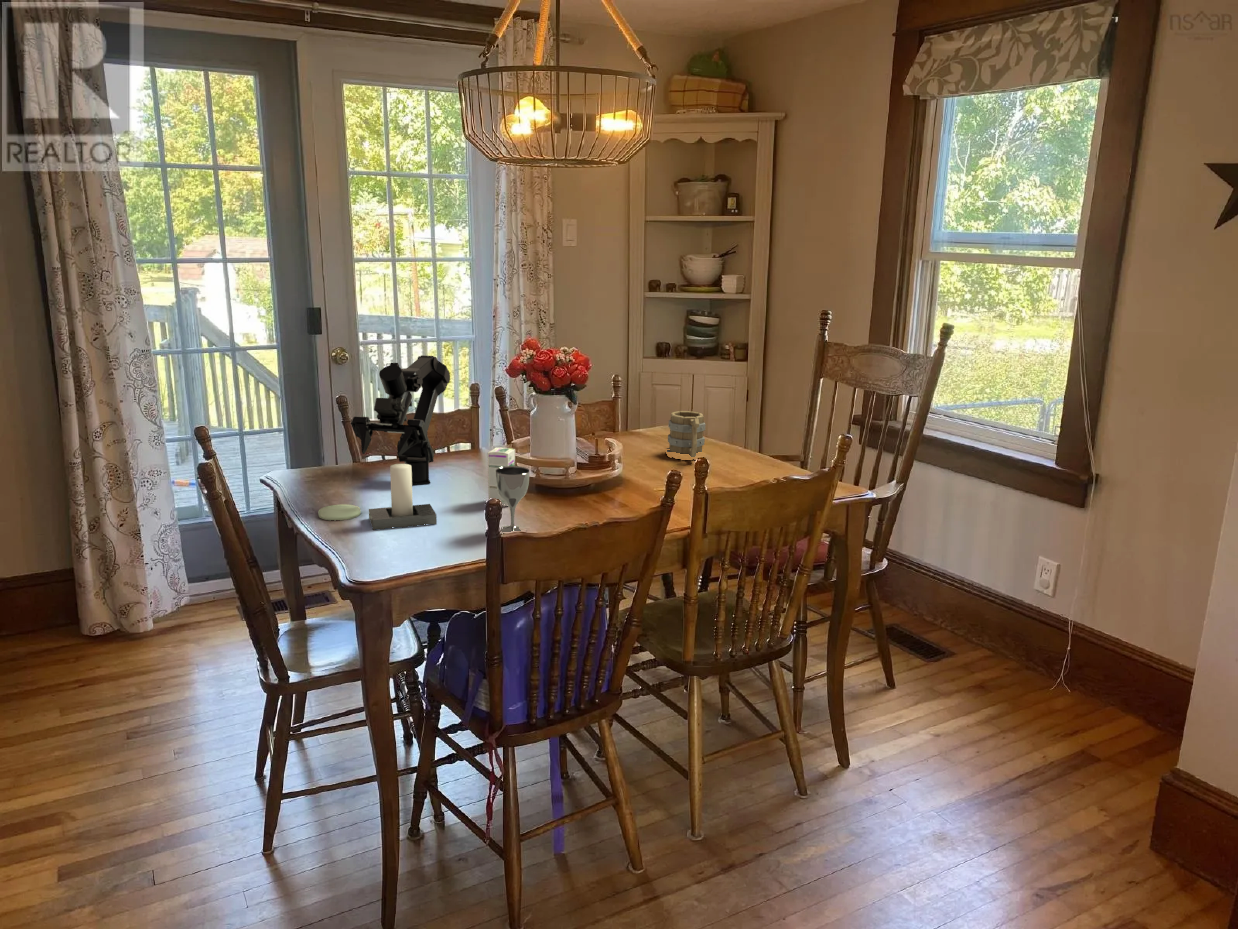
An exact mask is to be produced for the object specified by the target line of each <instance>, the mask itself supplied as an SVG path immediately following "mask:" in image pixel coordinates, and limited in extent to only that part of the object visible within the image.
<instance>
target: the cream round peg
mask: <svg viewBox="0 0 1238 929" xmlns="http://www.w3.org/2000/svg"><path fill="white" fill-rule="evenodd" d="M389 468H390V469H389V471H390V472H389V474H390V499H391V500H390V503H391V507H392V517H400V516H411V515H413V505H414V504H413V485H412V469H411V465H409V464H405V463H395V464H391V465H390V466H389Z"/></svg>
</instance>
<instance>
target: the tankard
mask: <svg viewBox="0 0 1238 929" xmlns="http://www.w3.org/2000/svg"><path fill="white" fill-rule="evenodd" d="M668 428H669V434H668V435H667V443H668V444H669V446H668V447H667V448H666V449H670V450H667V452H676V453H680V454H689V455H690V456H691V457H695V456H696V453H698V452H702V449H703V446H704V445H705V439H706V438H705V437H704V431H706V423H705V416H704V414H703V413H702V412H698V411H693V410H691V411H690V410H679V411H678V410H677V411H673V412H671V413H670V419H669V420H668Z"/></svg>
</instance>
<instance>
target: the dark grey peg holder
mask: <svg viewBox="0 0 1238 929" xmlns="http://www.w3.org/2000/svg"><path fill="white" fill-rule="evenodd" d="M437 518H438V516H437V513H436V511H435V510H434V508H433V507H432V505H431V504H430V503H425V504H416V505H415V504H413V515H411V516H400V517H392V506H389V507H379V508H378V507H377V508H368V520H369V522H370V525H371V527H373V528H372V530H373V531H376V530H375V529H380V530H386V529H385V528H391V529H393V528H392V527H402V528H409V527H408V526H413V527H418V526H417V525H424V524H425V525H424V526H427V525H426V524H435V525H438V523H437V522H438V521H437V520H438V519H437Z"/></svg>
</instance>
